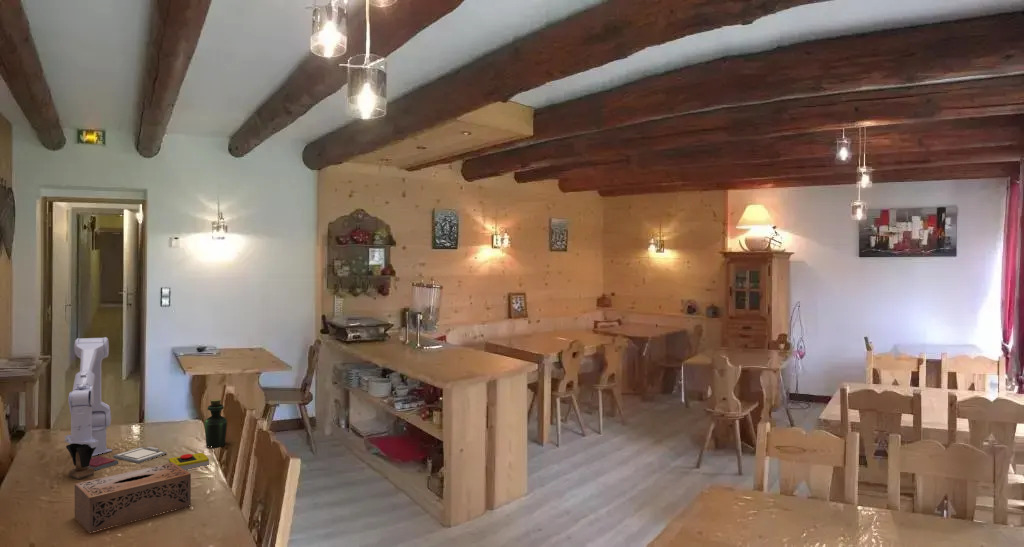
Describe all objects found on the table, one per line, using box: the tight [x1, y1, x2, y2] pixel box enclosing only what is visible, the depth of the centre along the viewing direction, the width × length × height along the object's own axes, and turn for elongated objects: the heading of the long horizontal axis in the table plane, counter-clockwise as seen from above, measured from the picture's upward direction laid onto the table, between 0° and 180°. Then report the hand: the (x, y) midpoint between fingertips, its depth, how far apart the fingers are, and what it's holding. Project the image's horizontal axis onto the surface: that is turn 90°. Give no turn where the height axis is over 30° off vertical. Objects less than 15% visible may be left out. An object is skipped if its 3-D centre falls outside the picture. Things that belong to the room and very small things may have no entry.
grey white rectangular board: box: [112, 446, 168, 464], centre depth 230 cm, size 14×11×2 cm
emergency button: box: [168, 452, 209, 470], centre depth 221 cm, size 9×4×15 cm
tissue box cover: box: [74, 462, 192, 534], centre depth 182 cm, size 26×14×10 cm, turn 138°
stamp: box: [68, 451, 95, 480], centre depth 209 cm, size 5×5×8 cm
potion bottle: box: [203, 398, 228, 449], centre depth 243 cm, size 8×8×18 cm
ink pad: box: [87, 455, 119, 471], centre depth 220 cm, size 10×8×2 cm
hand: (81, 465), depth 209 cm, fingers closed on stamp, 3 cm apart
